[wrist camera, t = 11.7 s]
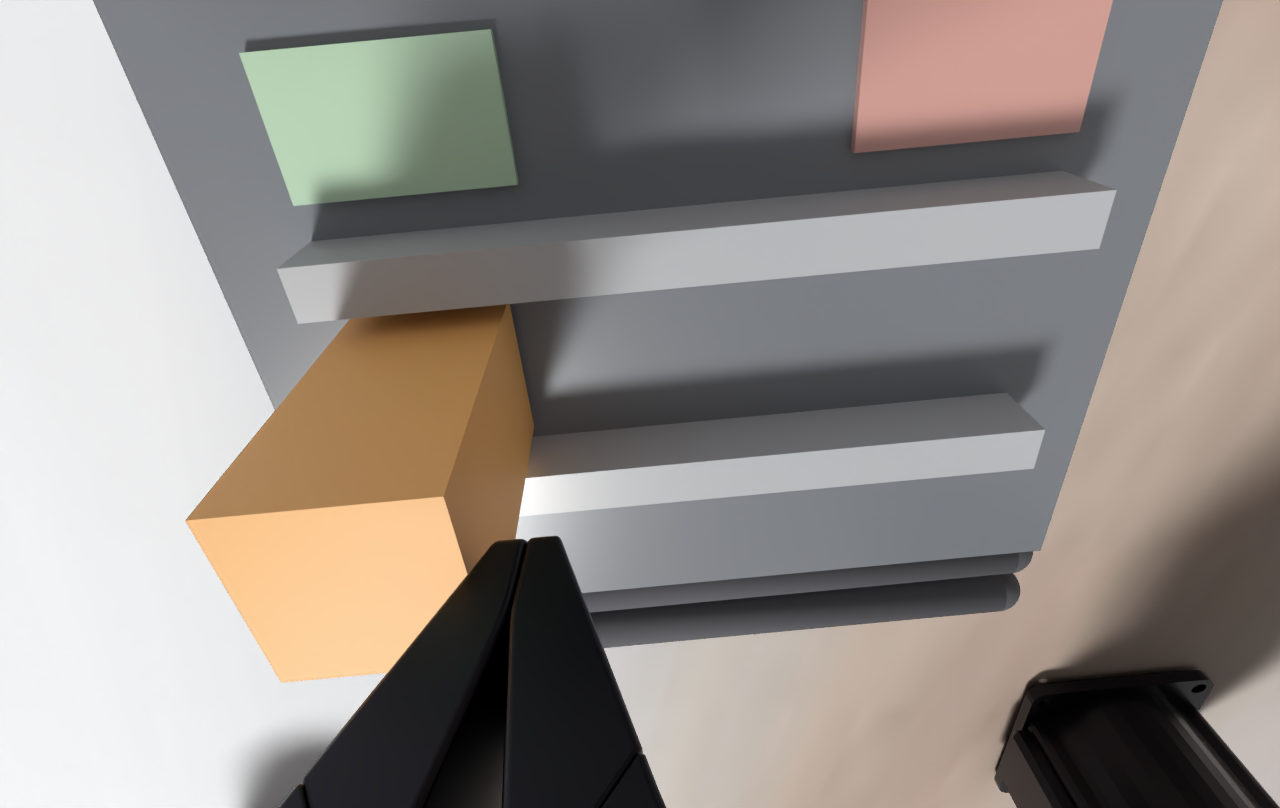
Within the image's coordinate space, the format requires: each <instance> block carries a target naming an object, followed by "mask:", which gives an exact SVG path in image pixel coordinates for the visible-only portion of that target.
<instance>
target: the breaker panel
mask: <svg viewBox="0 0 1280 808" xmlns="http://www.w3.org/2000/svg"><path fill="white" fill-rule="evenodd" d="M1222 1H1223V0H93V2H94V4H95V6H96V8H97V11H98V13H99V15H100V17H101V20H102V22H103V24H104V26H105V29H106V31H107V33H108V35H109V38H110V40H111V42H112V44H113V47H114V49H115V51H116V53H117V56H118V58H119V60H120V62H121V65H122V67H123V69H124V71H125V74H126V76H127V78H128V80H129V83H130V85H131V87H132V89H133V92H134V94H135V96H136V98H137V101H138V103H139V105H140V107H141V110H142V112H143V114H144V116H145V119H146V121H147V123H148V125H149V128H150V130H151V132H152V135H153V137H154V139H155V141H156V144H157V146H158V148H159V150H160V153H161V155H162V157H163V159H164V162H165V164H166V166H167V168H168V171H169V173H170V175H171V177H172V180H173V182H174V184H175V186H176V189H177V191H178V193H179V195H180V198H181V200H182V202H183V204H184V207H185V209H186V211H187V213H188V216H189V218H190V220H191V222H192V225H193V227H194V229H195V231H196V234H197V236H198V238H199V240H200V243H201V245H202V247H203V249H204V252H205V254H206V256H207V258H208V261H209V263H210V265H211V267H212V270H213V272H214V274H215V276H216V279H217V281H218V283H219V285H220V288H221V290H222V292H223V294H224V297H225V299H226V301H227V303H228V306H229V308H230V310H231V312H232V315H233V317H234V319H235V321H236V324H237V326H238V328H239V330H240V333H241V335H242V337H243V339H244V342H245V344H246V346H247V348H248V351H249V353H250V355H251V357H252V360H253V362H254V364H255V366H256V369H257V371H258V373H259V375H260V378H261V380H262V382H263V384H264V387H265V389H266V391H267V393H268V396H269V398H270V400H271V402H272V405H273V407H274V409H275V410H276V409H277V408H278V407H279V405H280V404H281V403H282V402H283V400H284V399H285V398H286V397H287V396H288V394H289V393H290V392H291V391H292V389H293V388H294V387H295V386H296V385H297V383H298V382H299V381H300V380H301V378H302V377H303V376H304V375H305V373H306V372H307V371H308V370H309V369H310V367H311V366H312V365H313V364H314V362H315V361H316V360H317V359H318V358H319V356H320V355H321V354H322V353H323V351H324V350H325V349H326V348H327V347H328V345H329V344H330V343H331V342H332V340H333V339H334V338H335V337H336V336H337V334H338V333H339V332H340V331H341V329H342V328H343V327H344V326H345V325H346V323H347V322H348V321H349V320H350V319H355V318H366V317H376V316H387V315H398V314H408V313H419V312H430V311H440V310H451V309H461V308H472V307H483V306H493V305H504V304H510V307H511V312H512V318H513V323H514V328H515V333H516V338H517V343H518V348H519V353H520V358H521V363H522V368H523V373H524V378H525V383H526V388H527V393H528V398H529V403H530V408H531V413H532V418H533V423H534V431H533V437H532V443H531V449H530V455H529V461H528V467H527V473H526V479H525V485H524V491H523V497H522V503H521V509H520V515H519V521H518V527H517V533H516V539H524V540H526V541H527V542H528V541H529V540H530V539H531V538H534V537H546V536H558V537H560V538H561V540H562V543H563V545H564V548H565V550H566V553H567V555H568V558H569V561H570V563H571V566H572V568H573V571H574V574H575V576H576V579H577V581H578V584H579V586H580V589H581V592H582V593H589V592H600V591H611V590H621V589H632V588H643V587H654V586H664V585H675V584H686V583H697V582H707V581H718V580H729V579H740V578H750V577H761V576H772V575H783V574H793V573H804V572H815V571H826V570H836V569H847V568H858V567H869V566H879V565H890V564H901V563H912V562H922V561H933V560H944V559H955V558H965V557H976V556H987V555H998V554H1008V553H1019V552H1030V551H1040V550H1041V547H1042V544H1043V541H1044V538H1045V535H1046V532H1047V529H1048V526H1049V523H1050V520H1051V517H1052V514H1053V511H1054V508H1055V505H1056V502H1057V499H1058V496H1059V493H1060V490H1061V487H1062V484H1063V481H1064V478H1065V475H1066V472H1067V469H1068V466H1069V463H1070V460H1071V457H1072V454H1073V451H1074V448H1075V445H1076V442H1077V438H1078V435H1079V432H1080V429H1081V426H1082V423H1083V420H1084V417H1085V414H1086V411H1087V408H1088V405H1089V402H1090V399H1091V396H1092V393H1093V390H1094V387H1095V384H1096V381H1097V378H1098V375H1099V372H1100V369H1101V366H1102V363H1103V360H1104V357H1105V354H1106V351H1107V348H1108V345H1109V342H1110V339H1111V336H1112V333H1113V330H1114V327H1115V324H1116V321H1117V318H1118V315H1119V312H1120V309H1121V306H1122V303H1123V300H1124V297H1125V294H1126V291H1127V288H1128V285H1129V282H1130V279H1131V276H1132V273H1133V270H1134V267H1135V264H1136V261H1137V258H1138V255H1139V252H1140V249H1141V246H1142V243H1143V240H1144V237H1145V234H1146V231H1147V228H1148V225H1149V222H1150V218H1151V215H1152V212H1153V209H1154V206H1155V203H1156V200H1157V197H1158V194H1159V191H1160V188H1161V185H1162V182H1163V179H1164V176H1165V173H1166V170H1167V167H1168V164H1169V161H1170V158H1171V155H1172V152H1173V149H1174V146H1175V143H1176V140H1177V137H1178V134H1179V131H1180V128H1181V125H1182V122H1183V119H1184V116H1185V113H1186V110H1187V107H1188V104H1189V101H1190V98H1191V95H1192V92H1193V89H1194V86H1195V83H1196V80H1197V77H1198V74H1199V71H1200V68H1201V65H1202V62H1203V59H1204V56H1205V53H1206V50H1207V47H1208V44H1209V41H1210V38H1211V35H1212V32H1213V29H1214V26H1215V23H1216V20H1217V17H1218V14H1219V11H1220V8H1221V5H1222Z"/></svg>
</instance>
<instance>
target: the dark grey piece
mask: <svg viewBox="0 0 1280 808" xmlns="http://www.w3.org/2000/svg"><path fill="white" fill-rule="evenodd" d="M1032 555H1033V551H1030V552H1019V553H1008V554H998V555H987V556H976V557H965V558H955V559H944V560H933V561H922V562H912V563H901V564H890V565H879V566H869V567H858V568H847V569H836V570H826V571H815V572H804V573H793V574H783V575H772V576H761V577H750V578H740V579H729V580H718V581H707V582H697V583H686V584H675V585H664V586H654V587H643V588H632V589H621V590H611V591H600V592H589V593H582V594H583V597H584V599H585V602H586V605H587V607H588V610H589V612H590V615H591V617H592V620H593V623H594V625H595V628H596V630H597V633H598V636H599V638H600V641H601V643H602V646H603V648H609V647H620V646H631V645H641V644H652V643H663V642H674V641H684V640H695V639H706V638H717V637H727V636H738V635H749V634H760V633H771V632H781V631H792V630H803V629H814V628H824V627H835V626H846V625H857V624H867V623H878V622H889V621H900V620H911V619H921V618H932V617H943V616H954V615H964V614H975V613H986V612H997V611H1004V610H1007V609H1009V608H1011V607H1012V606H1013V605H1015V603H1016V602H1017V601H1018V599H1019V596H1020V585H1019V582H1018V580H1017V578H1016V576H1015V575H1014V574H1013V573H1016V572H1019V571H1021V570H1023V569H1024V568H1025V567H1027V565H1028V564H1029V563H1030V561H1031V559H1032Z"/></svg>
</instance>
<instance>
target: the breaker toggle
mask: <svg viewBox="0 0 1280 808" xmlns="http://www.w3.org/2000/svg"><path fill="white" fill-rule="evenodd" d="M533 431H534V423H533V418H532V413H531V408H530V403H529V398H528V393H527V388H526V383H525V378H524V373H523V368H522V363H521V358H520V353H519V348H518V343H517V338H516V333H515V328H514V323H513V318H512V312H511V307H510V304H504V305H493V306H483V307H472V308H461V309H451V310H440V311H430V312H419V313H408V314H398V315H387V316H376V317H366V318H355V319H350V320H349V321H348V322H347V323H346V325H345V326H344V327H343V328H342V329H341V331H340V332H339V333H338V334H337V336H336V337H335V338H334V339H333V340H332V342H331V343H330V344H329V345H328V347H327V348H326V349H325V350H324V351H323V353H322V354H321V355H320V356H319V358H318V359H317V360H316V361H315V362H314V364H313V365H312V366H311V367H310V369H309V370H308V371H307V372H306V373H305V375H304V376H303V377H302V378H301V380H300V381H299V382H298V383H297V385H296V386H295V387H294V388H293V389H292V391H291V392H290V393H289V394H288V396H287V397H286V398H285V399H284V400H283V402H282V403H281V404H280V405H279V407H278V408H277V409H276V410H275V411H274V413H273V414H272V415H271V416H270V418H269V419H268V420H267V421H266V422H265V424H264V425H263V426H262V427H261V429H260V430H259V431H258V432H257V433H256V435H255V436H254V437H253V438H252V440H251V441H250V442H249V443H248V444H247V446H246V447H245V448H244V449H243V451H242V452H241V453H240V454H239V455H238V457H237V458H236V459H235V460H234V462H233V463H232V464H231V465H230V467H229V468H228V469H227V470H226V471H225V473H224V474H223V475H222V476H221V478H220V479H219V480H218V481H217V482H216V484H215V485H214V486H213V487H212V489H211V490H210V491H209V492H208V493H207V495H206V496H205V497H204V498H203V500H202V501H201V502H200V503H199V504H198V506H197V507H196V508H195V509H194V511H193V512H192V513H191V514H190V515H189V517H188V518H187V519H186V520H185V521H186V523H187V524H188V526H189V528H190V529H191V531H192V533H193V534H194V536H195V538H196V540H197V541H198V543H199V545H200V546H201V548H202V550H203V551H204V553H205V555H206V556H207V558H208V560H209V562H210V563H211V565H212V567H213V568H214V570H215V572H216V573H217V575H218V577H219V578H220V580H221V582H222V583H223V585H224V587H225V589H226V590H227V592H228V594H229V595H230V597H231V599H232V600H233V602H234V604H235V605H236V607H237V609H238V610H239V612H240V614H241V616H242V617H243V619H244V621H245V622H246V624H247V626H248V627H249V629H250V631H251V632H252V634H253V636H254V637H255V639H256V641H257V643H258V644H259V646H260V648H261V649H262V651H263V653H264V654H265V656H266V658H267V659H268V661H269V663H270V665H271V666H272V668H273V670H274V671H275V673H276V675H277V676H278V678H279V680H280V681H281V683H282V682H293V681H303V680H314V679H325V678H336V677H347V676H357V675H368V674H379V673H388V672H389V670H390V669H391V668H392V667H393V666H394V664H395V663H396V662H397V661H398V659H399V658H400V657H401V656H402V654H403V653H404V652H405V651H406V650H407V648H408V647H409V646H410V645H411V643H412V642H413V641H414V640H415V638H416V637H417V636H418V635H419V634H420V632H421V631H422V630H423V629H424V627H425V626H426V625H427V624H428V622H429V621H430V620H431V619H432V618H433V616H434V615H435V614H436V613H437V611H438V610H439V609H440V608H441V606H442V605H443V604H444V603H445V602H446V600H447V599H448V598H449V597H450V595H451V594H452V593H453V592H454V590H455V589H456V588H457V587H458V586H459V584H460V583H461V582H462V581H463V579H464V578H465V577H466V576H467V574H468V573H469V572H470V571H471V570H472V568H473V567H474V566H475V565H476V563H477V562H478V561H479V560H480V558H481V557H482V556H483V555H484V554H485V552H486V551H487V550H488V549H489V547H490V546H491V545H492V544H493V543H495V542H496V541H501V540H512V539H516V533H517V527H518V521H519V515H520V509H521V503H522V497H523V491H524V485H525V479H526V473H527V467H528V461H529V455H530V449H531V443H532V437H533Z"/></svg>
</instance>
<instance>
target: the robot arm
mask: <svg viewBox="0 0 1280 808" xmlns="http://www.w3.org/2000/svg"><path fill="white" fill-rule="evenodd" d="M1213 685H1214V684H1213V682H1212V681H1211V679H1210V678H1209V677H1208V676H1207V675H1206V674H1205V673H1204V672H1203V671H1201V670H1192V671H1181V672H1170V673H1159V674H1149V675H1138V676H1127V677H1116V678H1105V679H1095V680H1084V681H1073V682H1062V683H1051V684H1042V685H1037V686H1035V687H1032V688H1031V689H1030V690H1028V691H1027V693H1026V695H1025V697H1024V700H1023V703H1022V705H1021V708H1020V711H1019V713H1018V716H1017V719H1016V721H1015V724H1014V727H1013V729H1012V732H1011V735H1010V737H1009V740H1008V743H1007V745H1006V748H1005V751H1004V753H1003V756H1002V759H1001V761H1000V764H999V767H998V769H997V772H996V775H995V782H996V783H997V785H998V787H999V789H1000V791H1001V792H1005V793H1010V795H1011V797H1012V799H1013V801H1014V803H1015V805H1016V807H1017V808H1280V807H1279V806H1278V805H1277V804H1276V802H1275V801H1274V800H1273V799H1272V798H1271V796H1270V795H1269V794H1268V793H1267V792H1266V791H1265V789H1264V788H1263V787H1262V786H1261V785H1260V783H1259V782H1258V781H1257V780H1256V779H1255V778H1254V776H1253V775H1252V774H1251V773H1250V772H1249V770H1248V769H1247V768H1246V767H1245V766H1244V765H1243V763H1242V762H1241V761H1240V760H1239V759H1238V757H1237V756H1236V755H1235V754H1234V753H1233V752H1232V750H1231V749H1230V748H1229V747H1228V746H1227V744H1226V743H1225V742H1224V741H1223V740H1222V739H1221V737H1220V736H1219V735H1218V734H1217V733H1216V731H1215V730H1214V729H1213V728H1212V727H1211V725H1210V724H1209V723H1208V722H1207V721H1206V720H1205V718H1204V717H1203V716H1202V715H1201V714H1200V712H1199V709H1200V708H1201V706H1202V704H1203V703H1204V701H1205V699H1206V698H1207V696H1208V695H1209V693H1210V691H1211V690H1212V688H1213ZM303 783H304V784H302V783H299V784H297V785H296V786H295V787H294V788H293V789H292V791H291V792H290V793H289V794H288V796H287V797H286V798H285V799H284V800H283V802H282V803H281V804H280V805H279V807H278V808H666V806H665V804H664V801H663V799H662V797H661V794H660V792H659V790H658V787H657V785H656V782H655V779H654V777H653V774H652V772H651V769H650V766H649V764H648V761H647V759H646V756H645V755H644V754H643V751H642V747H641V744H640V742H639V739H638V736H637V734H636V731H635V729H634V726H633V723H632V721H631V718H630V716H629V713H628V711H627V708H626V705H625V703H624V700H623V698H622V695H621V692H620V690H619V687H618V685H617V682H616V679H615V677H614V674H613V672H612V669H611V667H610V664H609V661H608V659H607V656H606V654H605V651H604V648H603V646H602V643H601V641H600V638H599V636H598V633H597V630H596V628H595V625H594V623H593V620H592V617H591V615H590V612H589V610H588V607H587V605H586V602H585V599H584V597H583V594H582V592H581V589H580V586H579V584H578V581H577V579H576V576H575V574H574V571H573V568H572V566H571V563H570V561H569V558H568V555H567V553H566V550H565V548H564V545H563V543H562V540H561V538H560V537H558V536H546V537H534V538H531V539H530V540H529V541H528V542H527V541H526V540H524V539H512V540H501V541H496V542H495V543H493V544H492V545H491V546H490V547H489V549H488V550H487V551H486V552H485V554H484V555H483V556H482V557H481V558H480V560H479V561H478V562H477V563H476V565H475V566H474V567H473V568H472V570H471V571H470V572H469V573H468V574H467V576H466V577H465V578H464V579H463V581H462V582H461V583H460V584H459V586H458V587H457V588H456V589H455V590H454V592H453V593H452V594H451V595H450V597H449V598H448V599H447V600H446V602H445V603H444V604H443V605H442V606H441V608H440V609H439V610H438V611H437V613H436V614H435V615H434V616H433V618H432V619H431V620H430V621H429V622H428V624H427V625H426V626H425V627H424V629H423V630H422V631H421V632H420V634H419V635H418V636H417V637H416V638H415V640H414V641H413V642H412V643H411V645H410V646H409V647H408V648H407V650H406V651H405V652H404V653H403V654H402V656H401V657H400V658H399V659H398V661H397V662H396V663H395V664H394V666H393V667H392V668H391V669H390V670H389V672H388V673H387V674H386V675H385V677H384V678H383V679H382V680H381V682H380V683H379V684H378V685H377V686H376V688H375V689H374V690H373V691H372V693H371V694H370V695H369V696H368V698H367V699H366V700H365V701H364V702H363V704H362V705H361V706H360V707H359V709H358V710H357V711H356V712H355V714H354V715H353V716H352V717H351V718H350V720H349V721H348V722H347V723H346V725H345V726H344V727H343V728H342V730H341V731H340V732H339V733H338V734H337V736H336V737H335V738H334V739H333V741H332V742H331V743H330V744H329V746H328V747H327V748H326V749H325V750H324V752H323V753H322V754H321V755H320V757H319V758H318V759H317V760H316V762H315V763H314V764H313V765H312V766H311V768H310V769H309V770H308V771H307V773H306V774H305V775H304V777H303Z"/></svg>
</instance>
